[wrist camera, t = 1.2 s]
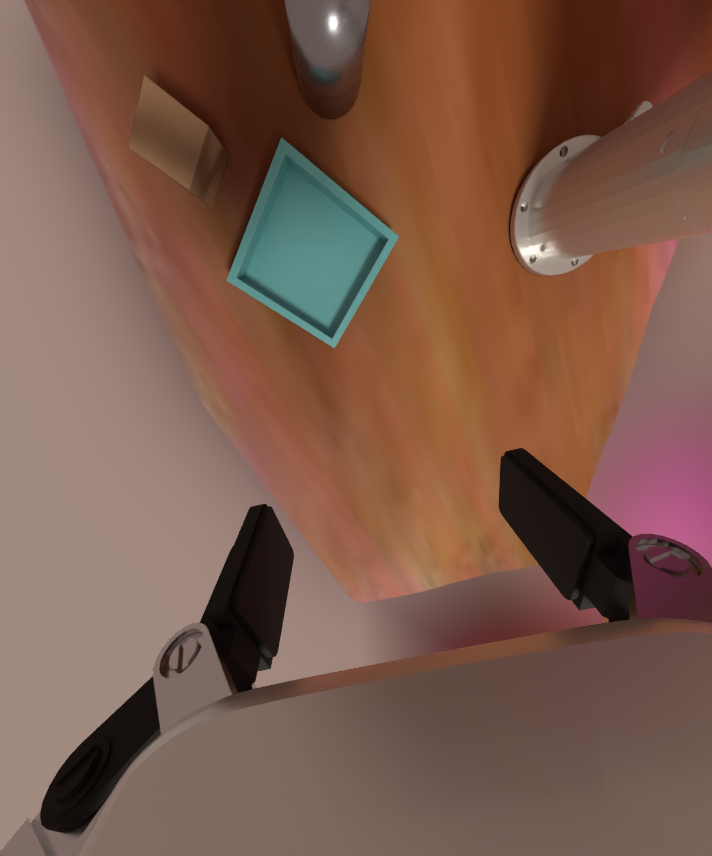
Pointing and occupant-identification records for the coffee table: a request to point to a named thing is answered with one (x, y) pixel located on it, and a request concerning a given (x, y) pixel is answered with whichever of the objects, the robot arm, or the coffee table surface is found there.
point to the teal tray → (309, 247)
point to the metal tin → (328, 51)
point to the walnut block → (177, 143)
